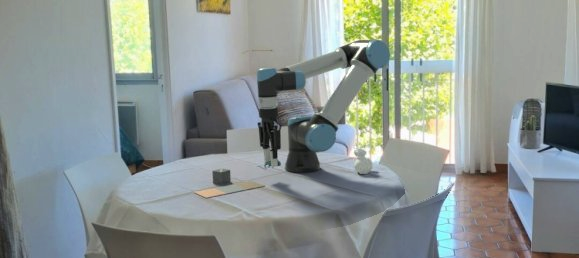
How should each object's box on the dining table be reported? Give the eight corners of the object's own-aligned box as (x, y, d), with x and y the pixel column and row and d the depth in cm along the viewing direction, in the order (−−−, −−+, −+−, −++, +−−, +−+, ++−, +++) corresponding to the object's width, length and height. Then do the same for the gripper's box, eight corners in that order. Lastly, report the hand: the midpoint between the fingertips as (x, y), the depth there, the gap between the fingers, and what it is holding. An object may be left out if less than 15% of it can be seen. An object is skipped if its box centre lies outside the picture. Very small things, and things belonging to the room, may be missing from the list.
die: (221, 180, 231) (221, 168, 230) (230, 182, 228) (230, 169, 227) (213, 182, 227) (212, 170, 226) (221, 184, 224) (221, 172, 223)
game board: (251, 181, 227) (251, 180, 227) (264, 186, 219) (264, 185, 219) (193, 192, 213) (193, 191, 213) (206, 198, 205) (206, 197, 205)
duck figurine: (368, 174, 244) (354, 152, 246) (381, 165, 240) (366, 143, 242) (355, 180, 234) (340, 157, 237) (368, 171, 230) (353, 148, 232)
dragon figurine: (274, 168, 219) (283, 157, 225) (257, 160, 221) (267, 149, 227) (272, 180, 224) (281, 168, 229) (256, 172, 226) (265, 161, 231)
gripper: (248, 106, 227) (251, 163, 231) (272, 110, 213) (275, 170, 217) (264, 104, 231) (267, 160, 235) (288, 108, 218) (291, 167, 222)
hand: (271, 165), depth 226 cm, fingers closed on dragon figurine, 4 cm apart
